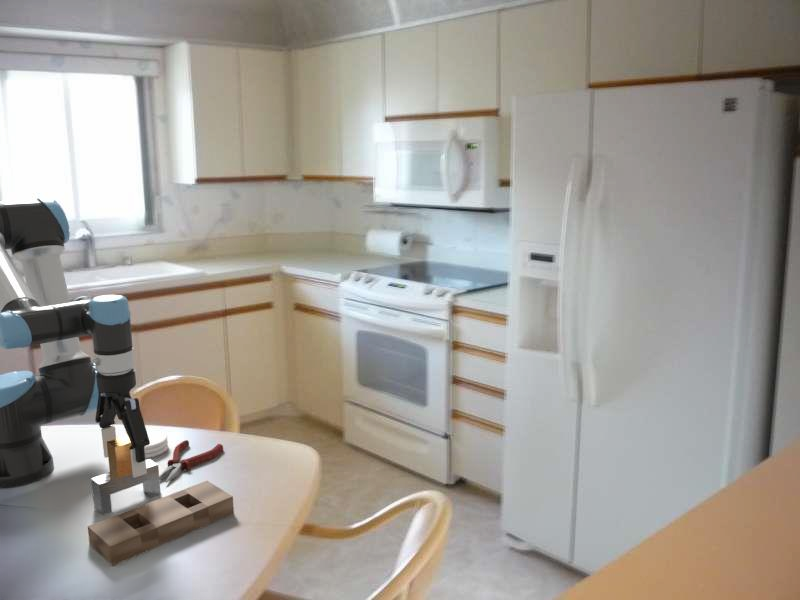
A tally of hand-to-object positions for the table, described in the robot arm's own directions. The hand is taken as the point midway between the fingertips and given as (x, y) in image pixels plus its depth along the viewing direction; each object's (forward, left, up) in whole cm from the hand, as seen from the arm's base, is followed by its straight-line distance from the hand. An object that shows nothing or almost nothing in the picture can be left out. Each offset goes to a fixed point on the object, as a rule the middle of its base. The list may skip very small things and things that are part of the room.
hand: (125, 465), depth 155 cm
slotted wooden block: (+16, 0, -9) cm, 18 cm away
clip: (0, 0, -9) cm, 9 cm away
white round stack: (-21, +15, -9) cm, 27 cm away
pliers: (-9, +18, -9) cm, 22 cm away
